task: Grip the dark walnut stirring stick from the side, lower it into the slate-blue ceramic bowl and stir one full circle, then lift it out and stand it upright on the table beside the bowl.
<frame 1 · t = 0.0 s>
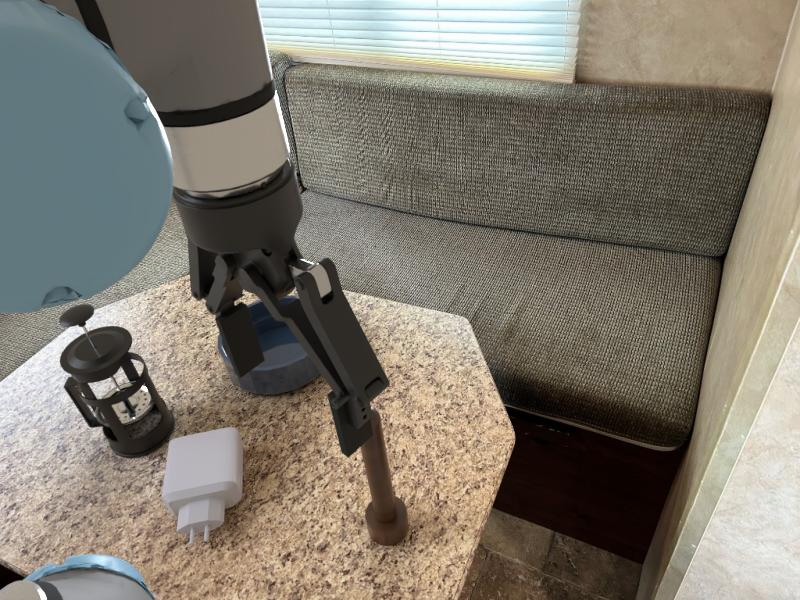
hand: (300, 403, 50), 30 cm above the table, tool pointing down, fingers open, 13 cm apart
bowl: (281, 357, 99), on the table
charger: (209, 500, 79), on the table
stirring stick: (388, 526, 74), on the table
french press: (140, 432, 89), on the table
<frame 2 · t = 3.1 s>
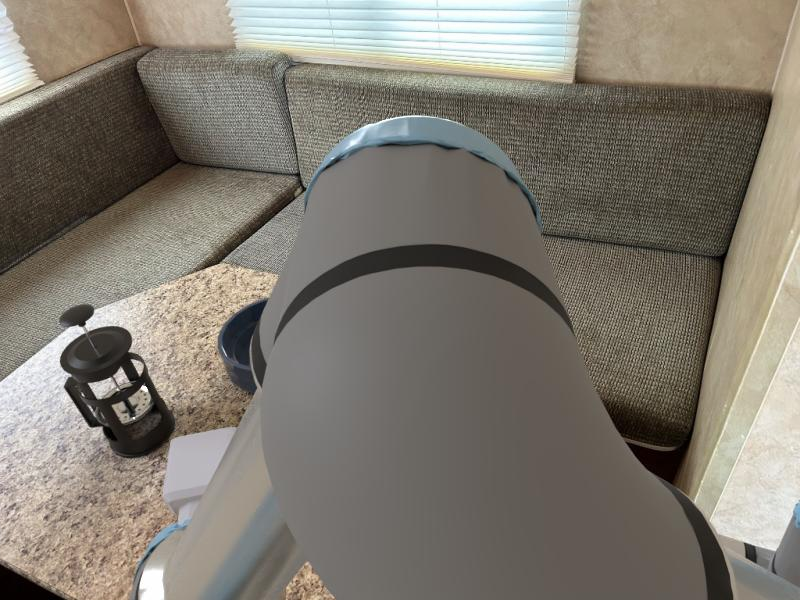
hand: (454, 493, 62), 13 cm above the table, tool horizontal, fingers open, 13 cm apart
nothing on the table moved.
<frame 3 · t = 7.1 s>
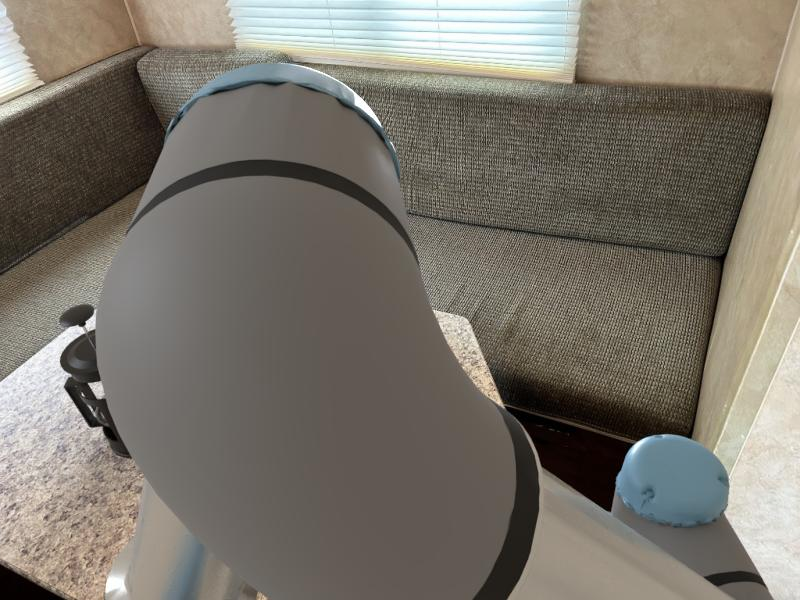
hand: (334, 451, 68), 12 cm above the table, tool horizontal, fingers closed on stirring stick, 3 cm apart
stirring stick: (388, 526, 74), on the table, touching gripper
everything else where it was.
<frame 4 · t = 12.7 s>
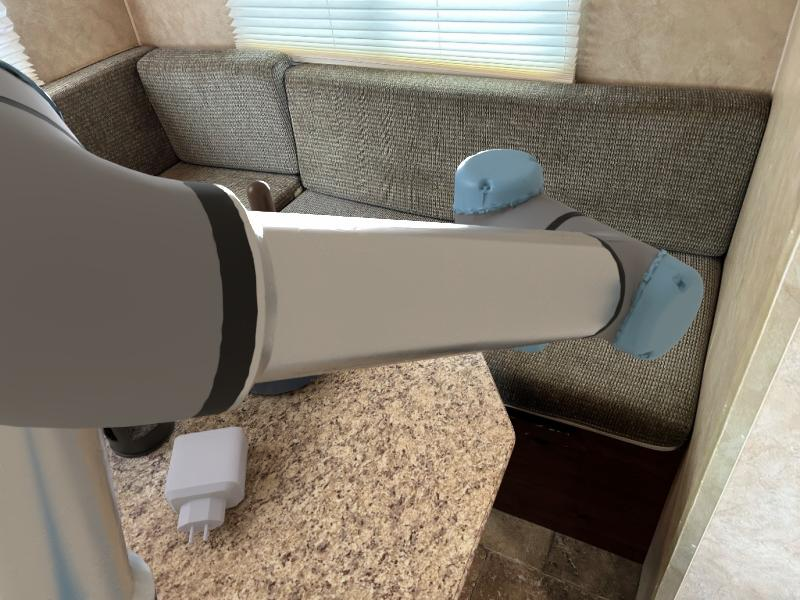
hand: (238, 243, 74), 28 cm above the table, tool horizontal, fingers closed on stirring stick, 3 cm apart
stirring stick: (295, 327, 79), point 16 cm above the table, touching gripper
everything else where it was.
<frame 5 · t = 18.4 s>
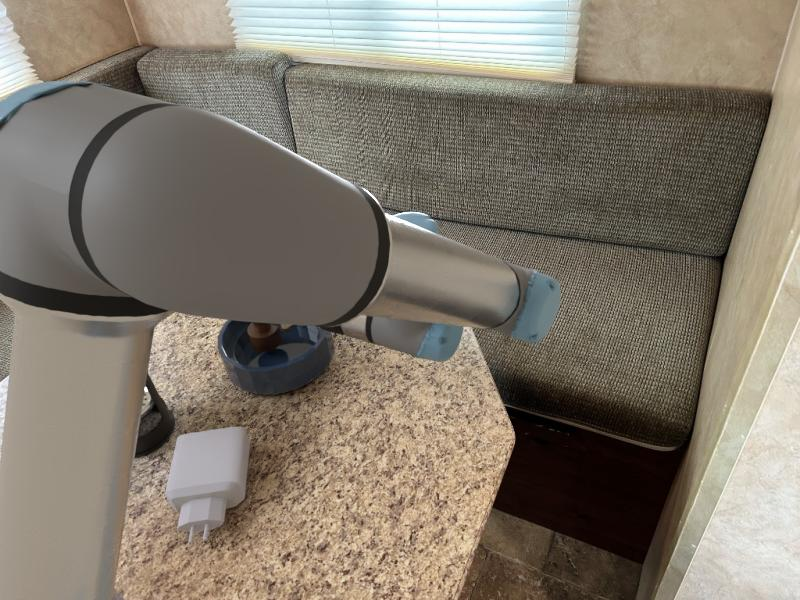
hand: (220, 274, 93), 15 cm above the table, tool horizontal, fingers closed on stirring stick, 3 cm apart
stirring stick: (267, 341, 98), point 3 cm above the table, touching gripper
everything else where it was.
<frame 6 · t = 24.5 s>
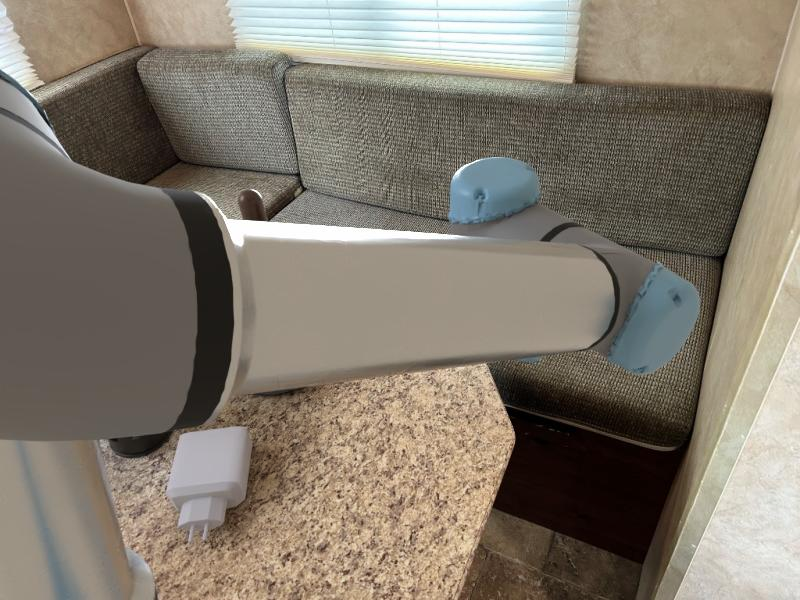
hand: (230, 252, 73), 28 cm above the table, tool horizontal, fingers closed on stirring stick, 3 cm apart
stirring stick: (288, 337, 78), point 16 cm above the table, touching gripper
everything else where it was.
when the fingers open (12 cm above the table, at t = 29.6 s): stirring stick stays where it is, on the table.
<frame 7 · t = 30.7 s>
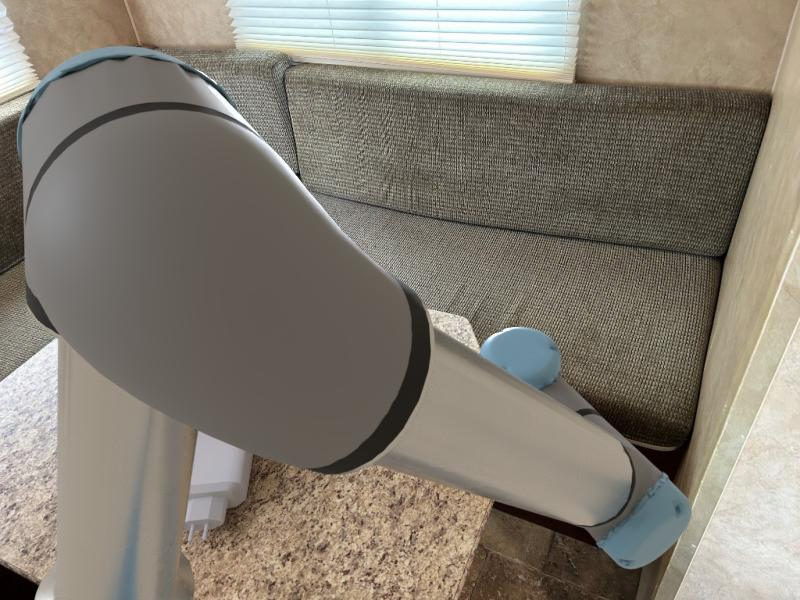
hand: (280, 374, 77), 13 cm above the table, tool horizontal, fingers open, 13 cm apart
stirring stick: (319, 444, 84), on the table
everything else where it was.
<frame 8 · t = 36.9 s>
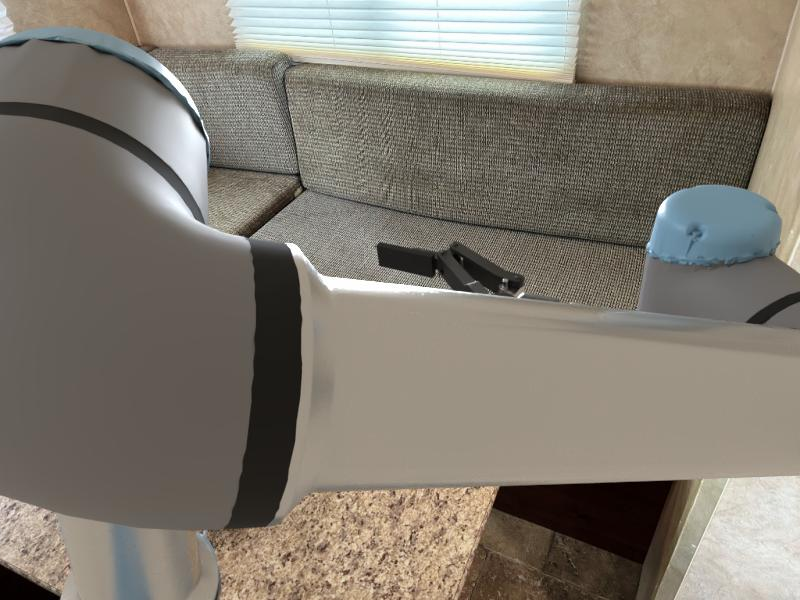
hand: (347, 290, 61), 30 cm above the table, tool horizontal, fingers open, 13 cm apart
at the end: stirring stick inside the target area (0.1 cm from its centre), on the table; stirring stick tilted 0°; bowl moved 0.0 cm from its start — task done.
